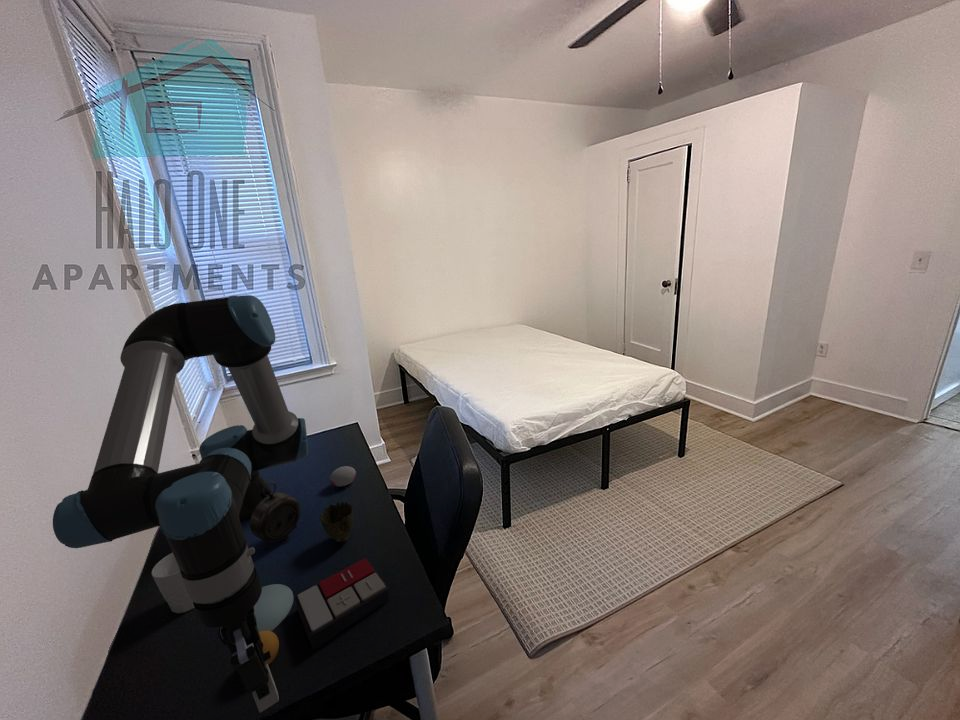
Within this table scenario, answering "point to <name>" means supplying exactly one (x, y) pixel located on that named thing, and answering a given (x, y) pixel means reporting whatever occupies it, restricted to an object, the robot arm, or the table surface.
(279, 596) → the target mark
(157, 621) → the table surface
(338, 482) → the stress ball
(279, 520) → the alarm clock
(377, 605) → the calculator
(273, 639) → the ball
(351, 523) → the dark brown rounded lump
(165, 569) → the white cup
